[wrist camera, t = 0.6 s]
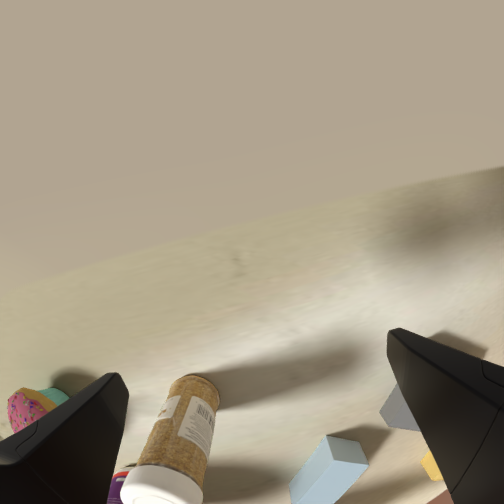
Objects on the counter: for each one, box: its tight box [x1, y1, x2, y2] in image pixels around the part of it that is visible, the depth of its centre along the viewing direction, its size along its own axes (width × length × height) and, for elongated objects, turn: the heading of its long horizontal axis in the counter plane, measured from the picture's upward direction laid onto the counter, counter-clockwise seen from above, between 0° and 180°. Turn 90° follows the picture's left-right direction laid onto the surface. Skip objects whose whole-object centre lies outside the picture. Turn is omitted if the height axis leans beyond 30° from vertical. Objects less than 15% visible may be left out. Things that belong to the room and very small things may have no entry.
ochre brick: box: [420, 450, 444, 481], centre depth 23 cm, size 8×4×4 cm, turn 158°
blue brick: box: [289, 435, 369, 504], centre depth 23 cm, size 8×4×4 cm, turn 157°
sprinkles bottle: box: [120, 375, 220, 504], centre depth 18 cm, size 5×5×14 cm
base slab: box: [380, 383, 421, 432], centre depth 23 cm, size 8×8×3 cm
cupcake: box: [7, 388, 69, 433], centre depth 19 cm, size 9×8×12 cm
